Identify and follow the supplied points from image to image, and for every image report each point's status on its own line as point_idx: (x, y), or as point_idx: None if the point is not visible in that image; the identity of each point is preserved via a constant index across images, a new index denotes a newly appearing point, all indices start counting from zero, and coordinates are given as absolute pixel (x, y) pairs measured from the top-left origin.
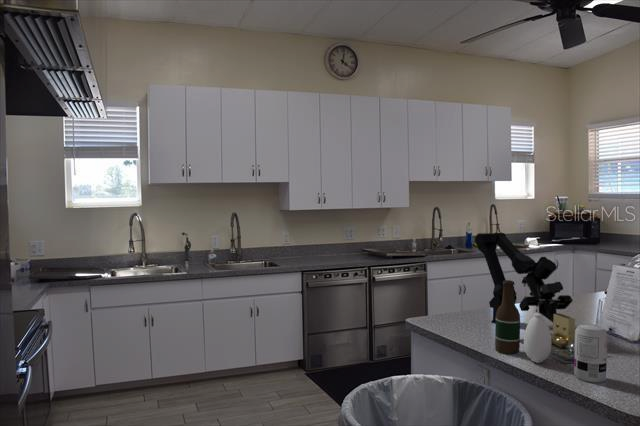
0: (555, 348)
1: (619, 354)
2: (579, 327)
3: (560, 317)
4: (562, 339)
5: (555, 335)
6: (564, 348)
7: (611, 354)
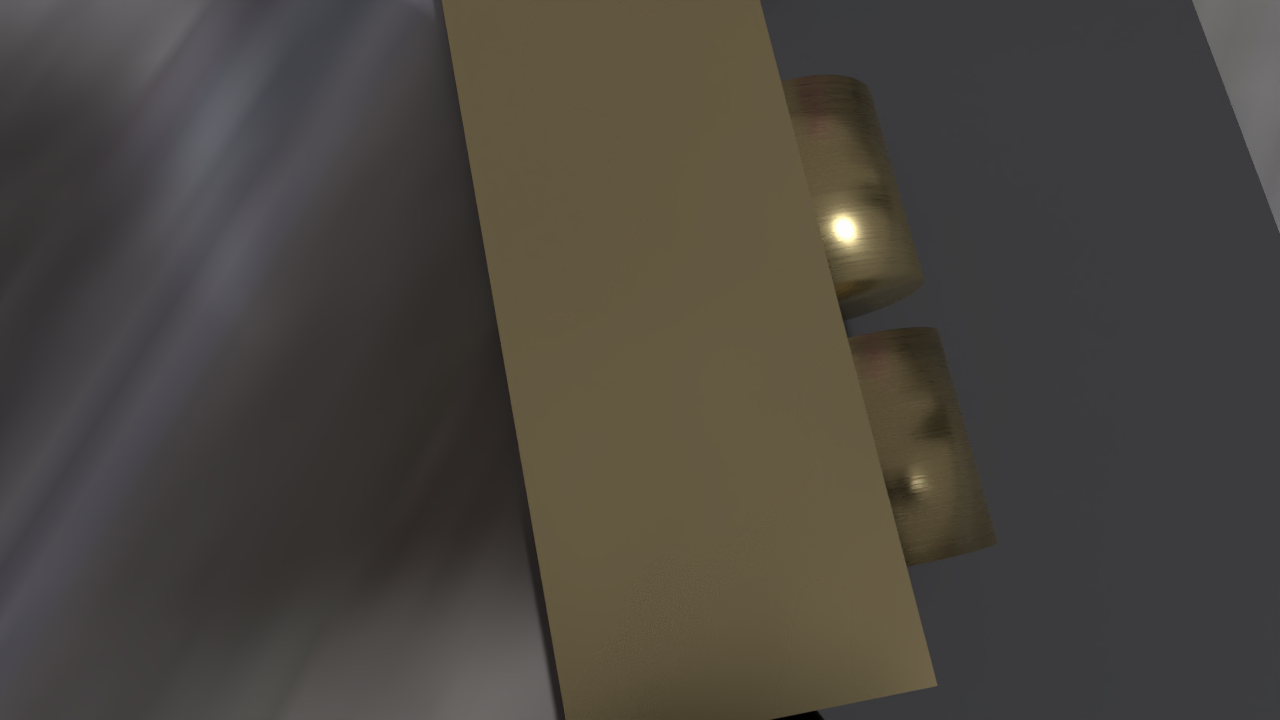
0: None
1: (5, 51)
2: None
3: (791, 189)
4: (818, 78)
5: (855, 343)
6: None
7: (120, 44)
